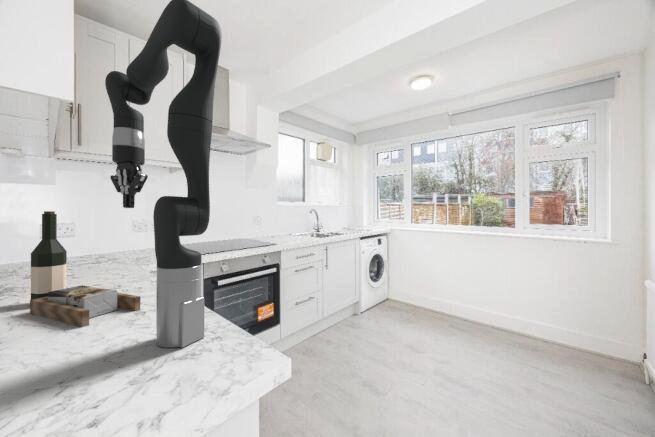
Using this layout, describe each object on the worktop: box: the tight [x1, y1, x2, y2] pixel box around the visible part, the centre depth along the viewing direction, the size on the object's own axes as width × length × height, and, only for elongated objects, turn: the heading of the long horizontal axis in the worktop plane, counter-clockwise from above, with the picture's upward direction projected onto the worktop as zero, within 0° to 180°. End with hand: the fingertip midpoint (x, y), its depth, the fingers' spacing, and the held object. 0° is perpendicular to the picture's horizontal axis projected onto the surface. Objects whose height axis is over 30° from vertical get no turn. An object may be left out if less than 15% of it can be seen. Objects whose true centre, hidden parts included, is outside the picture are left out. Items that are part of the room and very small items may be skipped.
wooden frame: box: [29, 292, 141, 328], centre depth 84 cm, size 26×15×4 cm, turn 68°
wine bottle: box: [30, 210, 68, 300], centre depth 91 cm, size 8×8×30 cm
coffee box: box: [48, 285, 118, 319], centre depth 83 cm, size 9×6×16 cm
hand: (128, 207), depth 80 cm, fingers closed
